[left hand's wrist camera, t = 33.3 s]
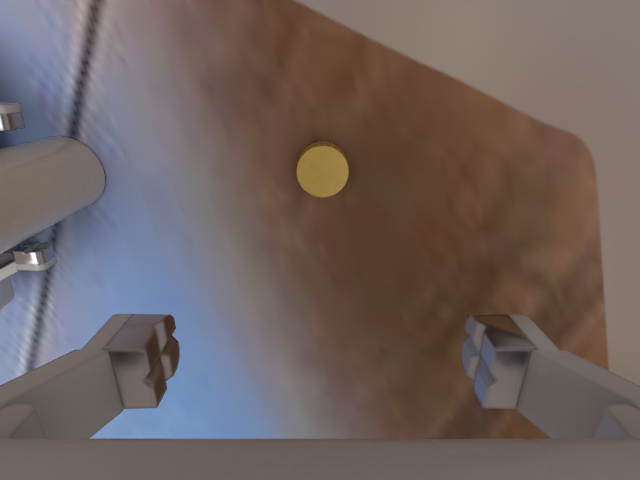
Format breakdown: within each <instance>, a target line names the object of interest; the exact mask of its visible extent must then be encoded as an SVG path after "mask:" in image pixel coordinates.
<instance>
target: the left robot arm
mask: <svg viewBox="0 0 640 480" xmlns="http://www.w3.org/2000/svg"><path fill="white" fill-rule="evenodd" d="M175 329H176V326H175V321H174V318H173V317H172V316H171V315H162V314H116V315H113V316H112V317H111V318H110V319H109V320H108V321H107V322H106V323H105V324H104V325H103V327H102V328H101V329H100V330H99V331H98V332H97V333H96V334H95V335H94V336H93V337H92V338H91V340H90V341H89V342H88V343H87V344H86V345H85V346H84V347H83V348H82V349H81V350H74V351H72V352H70V353H67V354H65V355H63V356H61V357H59V358H57V359H55V360H53V361H51V362H49V363H47V364H44V365H42V366H40V367H38V368H36V369H34V370H32V371H30V372H28V373H26V374H23V375H21V376H19V377H17V378H15V379H13V380H11V381H9V382H7V383H5V384H3V385H0V480H640V386H639V385H637V384H635V383H633V382H631V381H629V380H627V379H625V378H623V377H621V376H618V375H616V374H614V373H612V372H610V371H608V370H606V369H604V368H602V367H600V366H598V365H595V364H593V363H591V362H589V361H587V360H585V359H583V358H581V357H579V356H577V355H575V354H572V353H570V352H568V351H566V350H559V349H558V348H557V347H556V346H555V345H554V344H553V343H552V342H551V341H550V340H549V338H548V337H547V336H546V335H545V334H544V333H543V332H542V331H541V330H540V329H539V328H538V327H537V325H536V324H535V323H534V322H533V321H532V320H531V319H530V318H529V317H528V316H527V315H525V314H502V315H468V316H467V318H466V321H465V326H464V329H465V330H466V332H467V334H468V336H467V337H466V338H465V339H464V340H463V341H462V344H461V363H462V366H463V369H464V371H465V374H466V376H467V377H469V378H470V379H472V380H473V381H474V386H473V389H474V391H475V393H476V395H477V397H478V399H479V401H480V403H481V405H482V407H483V408H504V409H517V411H518V412H519V413H520V414H522V415H523V416H524V417H525V418H527V419H528V420H529V421H530V422H531V423H533V424H534V425H535V426H536V427H538V428H539V429H540V430H541V431H542V432H544V433H545V434H546V435H547V436H549V437H550V438H551V439H89V438H90V437H92V436H93V435H94V434H95V433H96V432H98V431H99V430H100V429H101V428H103V427H104V426H105V425H106V424H107V423H109V422H110V421H111V420H112V419H114V418H115V417H116V416H117V415H118V414H120V413H121V412H122V411H123V409H135V408H157V407H158V405H159V403H160V401H161V399H162V397H163V395H164V393H165V391H166V389H167V386H166V381H167V380H168V379H170V378H171V377H173V376H174V373H175V371H176V369H177V366H178V361H179V344H178V341H177V340H176V339H175V338H174V337H173V336H172V334H173V332H174V330H175Z"/></svg>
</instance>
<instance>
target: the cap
mask: <svg viewBox="0 0 640 480" xmlns="http://www.w3.org/2000/svg"><path fill="white" fill-rule="evenodd" d="M348 167H349V165H348V161H347V158H346V155H344V153H343V150H341V149H340V148H339V147H338V145H335V144H334V143H332V142H328V141H326V140H325V141H318V142H314V143H313V142H312V143H311V144H310V145H309V146H306V148H305V149H304V150H303V151H302V152H301V155H300V157H299V159H298V164H297V167H296V169H297V178H298V181H299V183H300V185H301V187H302V188H303V189H304V190H305V191H306V192H307V193H309V194H311V195H313V196H316V197H329V196H332V195H334V194H336V193H338V192H339V191H340V190H341V189H342V188H343V187H344V186H345V184H346V182H347V179H348V175H349V168H348Z"/></svg>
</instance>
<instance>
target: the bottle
mask: <svg viewBox="0 0 640 480" xmlns="http://www.w3.org/2000/svg"><path fill="white" fill-rule="evenodd" d="M104 187H105V173H104V170H103V167H102V165H101V162H100V161H99V159H98V158H97V156H96V155H95V154H94V153H93V152H92V150H90V149H89V148H88V147H87V146H86V145H84V144H83V143H81V142H79V141H77V140H75V139H72V138H69V137H64V136H54V137H49V138H45V139H40V140H36V141H31V142H27V143H22V144H18V145H13V146H9V147H4V148H0V254H2V253H3V252H5V251H7V250H9V249H11V248H12V247H14V246H16V245H18V244H20V243H21V242H23V241H25V240H27V239H29V238H31V237H32V236H34V235H36V234H38V233H40V232H41V231H43V230H45V229H47V228H49V227H50V226H52V225H54V224H56V223H58V222H60V221H61V220H63V219H65V218H67V217H69V216H70V215H72V214H74V213H76V212H78V211H79V210H81V209H83V208H85V207H87V206H89V205H90V204H92V203H94V202H95V201H96V200H98V199H99V197H100V196H101V195H102V193H103V190H104Z"/></svg>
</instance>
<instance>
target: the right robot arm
mask: <svg viewBox="0 0 640 480" xmlns="http://www.w3.org/2000/svg"><path fill="white" fill-rule="evenodd" d="M16 128H18V129H22V128H25V125H24V121H23V116H22V112H21V108H20V104H19V103H11V102H0V131H7V130H16ZM12 252H13V254H11V253H4V252H3V253H2V254H0V310H1V309H2V308H4V307H5V306H6V305H7V304H8V303H9V302H10V301H11V300H12V299H13V297H14V291H13V287H12V284H11V281H10V277H9V276H10V275H12V274H14V273H16V272H18V271H20V270H25V271H42V270H46V269H48V268H49V267H51V266H52V265H54V264H55V263H56V262H57V260H56V255H55V252H54V248H53V244H52V243H51V242H45V243H42V242H40V241H30V242H28V243H26V244H24V246H23V247H19V248H17V249H16V250H14V251H12ZM13 256H14V258H13ZM13 259H14V260H13Z"/></svg>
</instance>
